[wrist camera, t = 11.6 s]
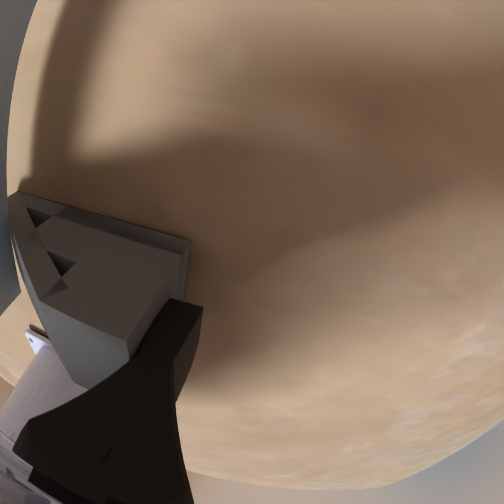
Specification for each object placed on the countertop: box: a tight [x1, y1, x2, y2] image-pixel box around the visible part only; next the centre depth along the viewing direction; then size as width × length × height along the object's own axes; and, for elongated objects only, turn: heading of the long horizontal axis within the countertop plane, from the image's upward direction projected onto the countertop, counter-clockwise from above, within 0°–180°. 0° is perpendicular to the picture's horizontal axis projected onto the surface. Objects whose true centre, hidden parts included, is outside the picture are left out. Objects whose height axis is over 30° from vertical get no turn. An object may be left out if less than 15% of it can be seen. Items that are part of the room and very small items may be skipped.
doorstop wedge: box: [7, 192, 191, 390], centre depth 10 cm, size 10×4×5 cm, turn 77°
